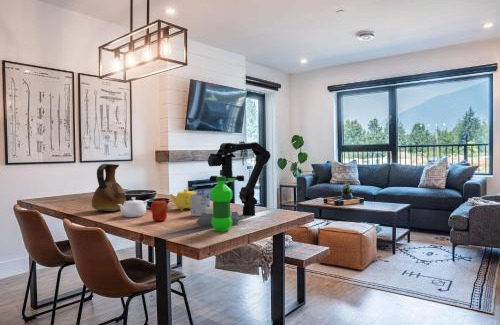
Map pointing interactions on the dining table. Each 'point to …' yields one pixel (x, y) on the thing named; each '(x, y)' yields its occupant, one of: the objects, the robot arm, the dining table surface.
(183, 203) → the teapot
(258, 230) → the dining table surface
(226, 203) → the plastic bottle
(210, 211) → the white cube
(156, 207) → the red rounded piece
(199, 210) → the ink cartridge box
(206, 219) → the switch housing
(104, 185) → the ceramic pitcher
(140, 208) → the teapot
